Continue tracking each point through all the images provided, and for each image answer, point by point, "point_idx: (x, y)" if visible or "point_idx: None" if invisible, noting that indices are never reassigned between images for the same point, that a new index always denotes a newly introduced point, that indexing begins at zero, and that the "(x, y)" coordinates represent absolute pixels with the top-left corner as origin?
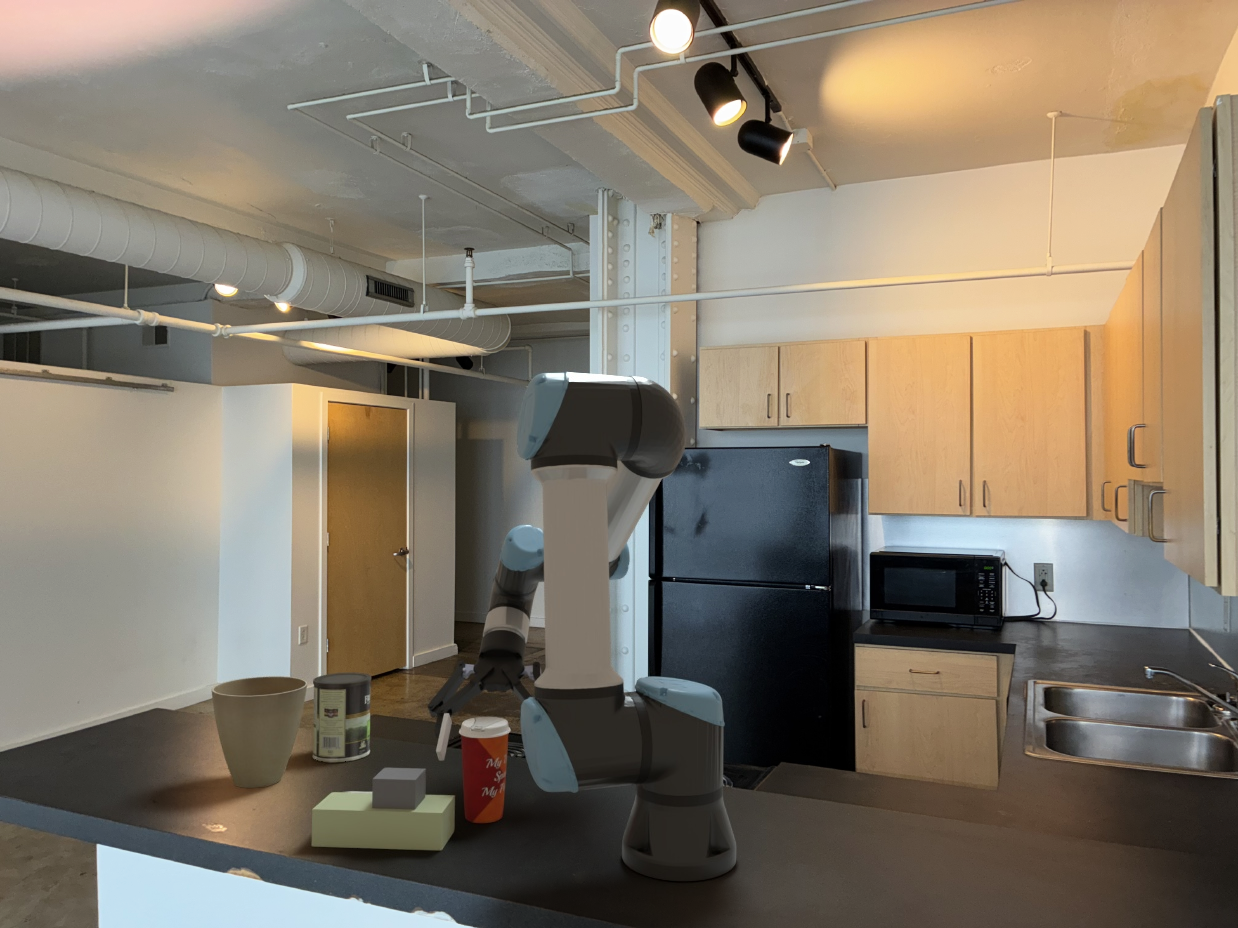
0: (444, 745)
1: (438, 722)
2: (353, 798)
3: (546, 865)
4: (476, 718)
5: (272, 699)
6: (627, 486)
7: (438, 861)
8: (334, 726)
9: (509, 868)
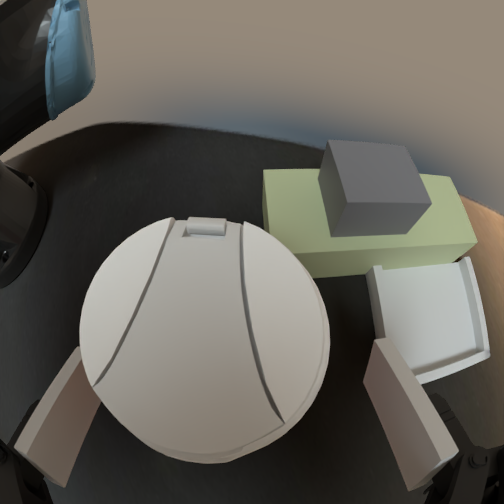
0: (381, 387)
1: (452, 427)
2: (438, 218)
3: (118, 190)
4: (264, 408)
5: None
6: None
7: (254, 178)
8: None
9: (160, 175)
